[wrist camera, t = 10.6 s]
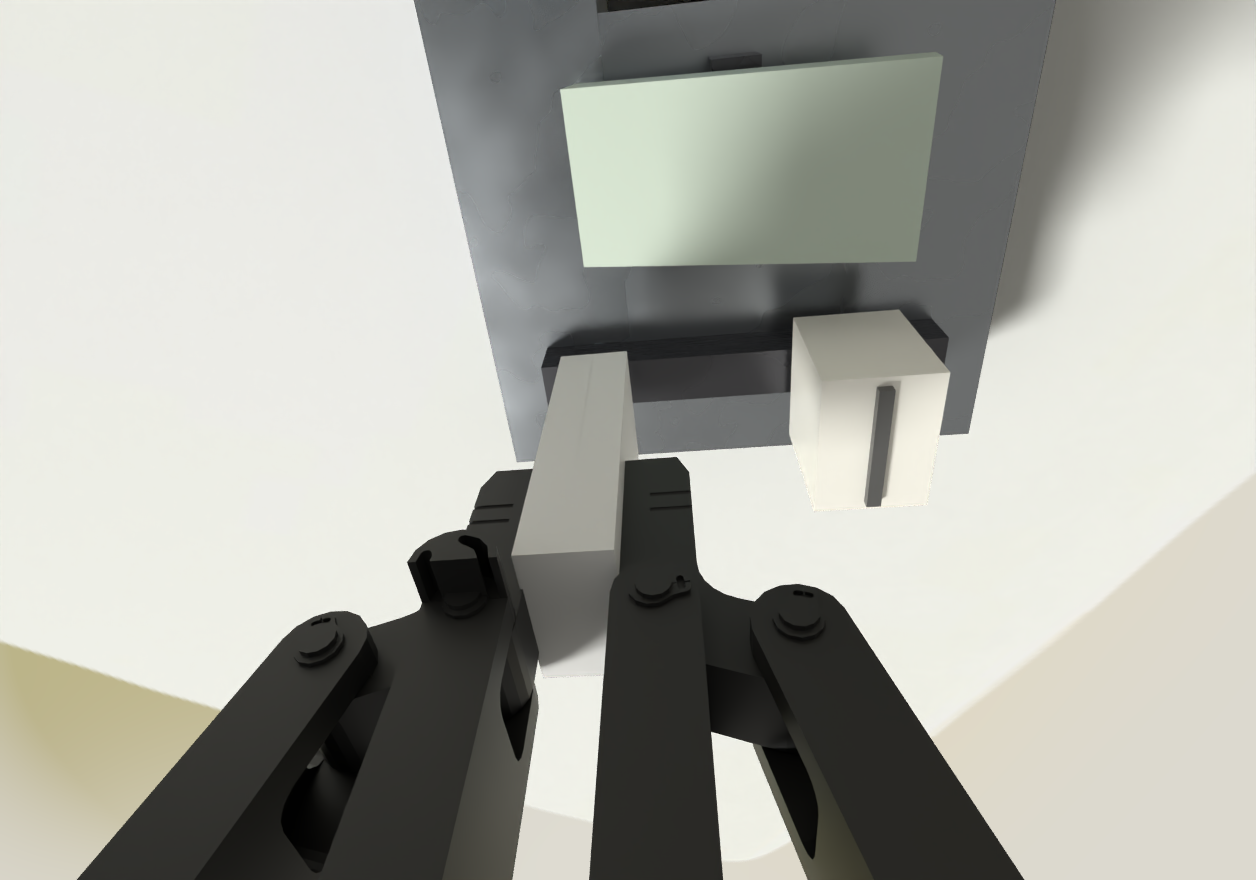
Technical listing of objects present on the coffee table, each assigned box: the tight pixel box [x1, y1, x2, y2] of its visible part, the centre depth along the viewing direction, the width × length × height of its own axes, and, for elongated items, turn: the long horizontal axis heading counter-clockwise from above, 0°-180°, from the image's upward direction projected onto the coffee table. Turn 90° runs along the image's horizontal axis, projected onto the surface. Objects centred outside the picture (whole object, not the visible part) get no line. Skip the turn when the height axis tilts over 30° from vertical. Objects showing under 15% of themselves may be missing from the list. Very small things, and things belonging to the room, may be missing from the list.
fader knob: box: [789, 309, 950, 512], centre depth 15 cm, size 3×2×3 cm
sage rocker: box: [560, 52, 943, 267], centre depth 14 cm, size 4×7×1 cm, turn 95°
